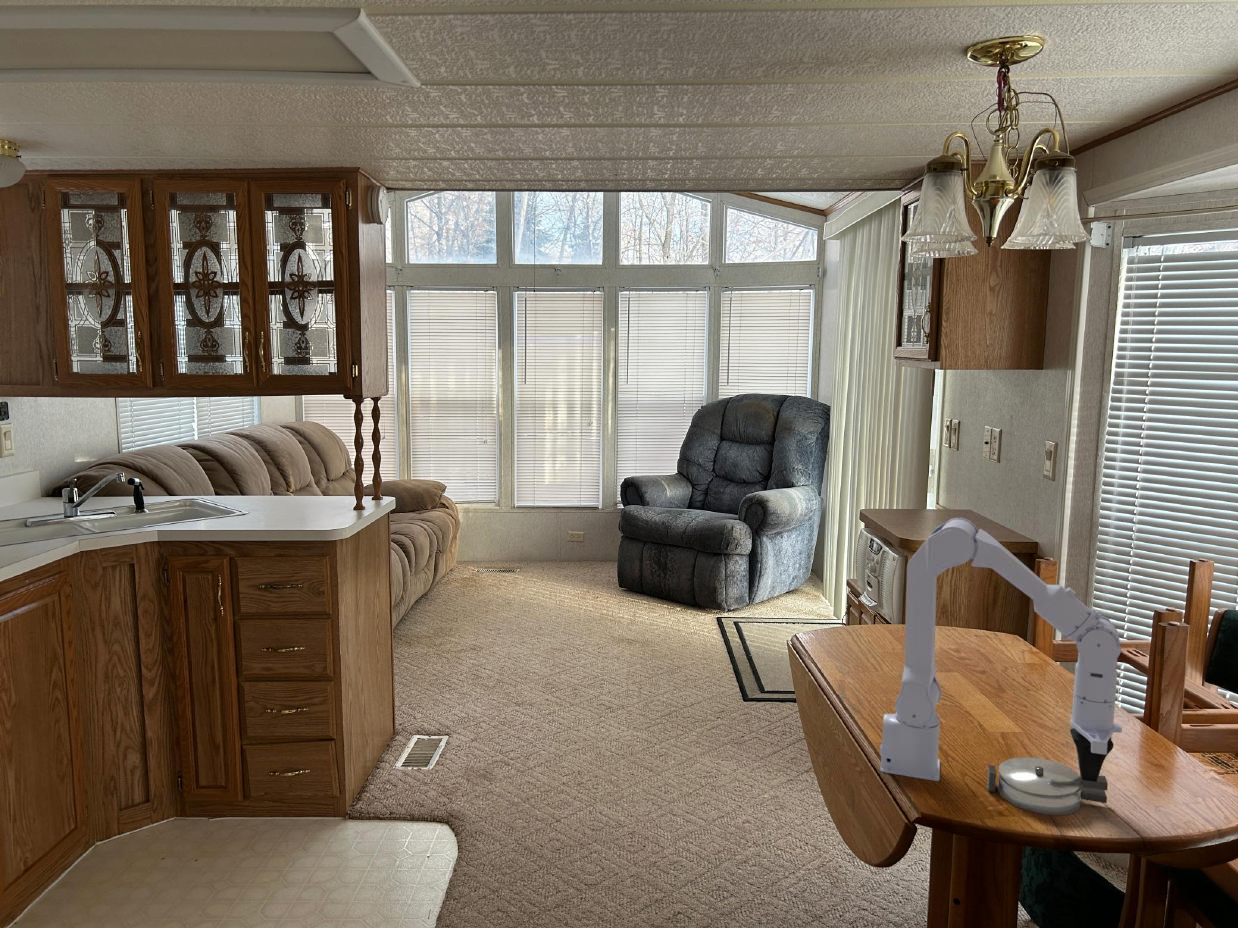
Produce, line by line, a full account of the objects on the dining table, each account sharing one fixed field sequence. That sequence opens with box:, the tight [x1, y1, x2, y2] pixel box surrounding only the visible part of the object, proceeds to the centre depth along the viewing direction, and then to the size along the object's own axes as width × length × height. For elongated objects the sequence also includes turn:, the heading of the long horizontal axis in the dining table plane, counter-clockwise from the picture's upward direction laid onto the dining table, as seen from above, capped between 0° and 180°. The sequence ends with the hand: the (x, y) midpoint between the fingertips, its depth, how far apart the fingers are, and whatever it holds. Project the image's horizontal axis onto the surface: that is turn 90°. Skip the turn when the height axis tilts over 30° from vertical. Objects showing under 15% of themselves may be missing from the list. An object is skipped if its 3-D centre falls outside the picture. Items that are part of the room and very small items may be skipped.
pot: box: [987, 764, 1108, 816], centre depth 138 cm, size 17×12×3 cm
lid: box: [998, 756, 1108, 797], centre depth 138 cm, size 16×12×2 cm
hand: (1088, 777), depth 136 cm, fingers closed, pressing on lid
